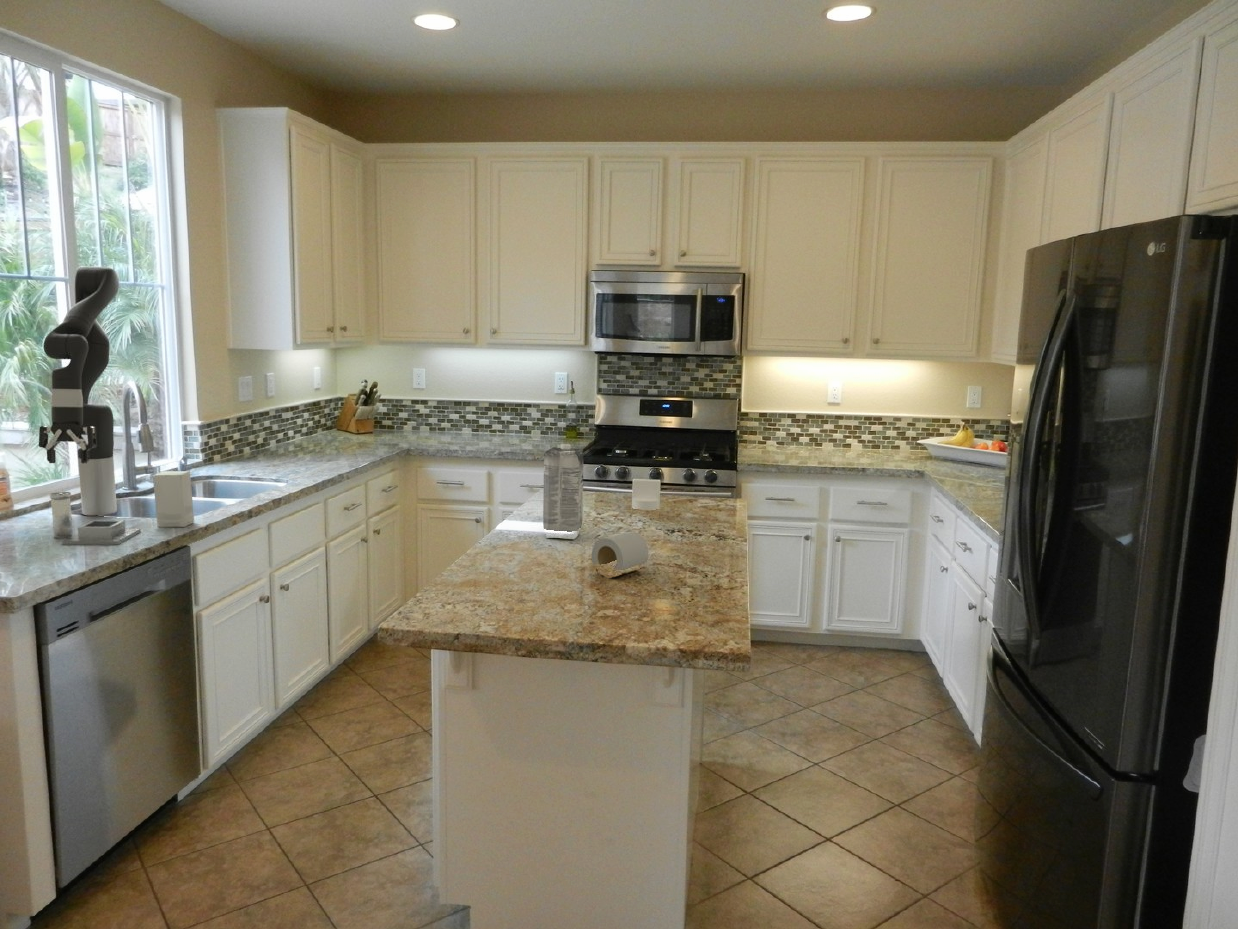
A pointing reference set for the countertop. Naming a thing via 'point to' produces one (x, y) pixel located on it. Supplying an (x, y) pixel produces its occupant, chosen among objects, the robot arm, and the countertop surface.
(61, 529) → the pale grey upright block
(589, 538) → the countertop surface
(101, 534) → the duct plate
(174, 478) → the skincare box
